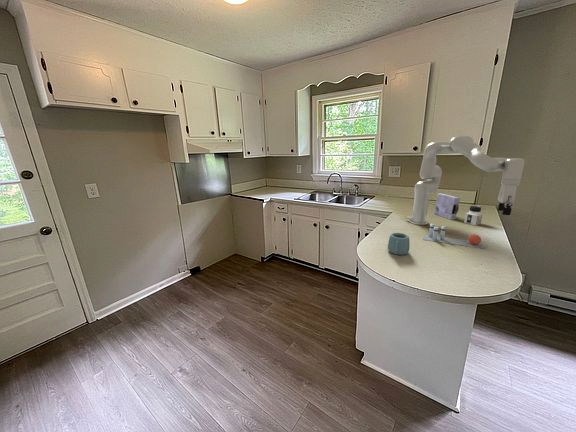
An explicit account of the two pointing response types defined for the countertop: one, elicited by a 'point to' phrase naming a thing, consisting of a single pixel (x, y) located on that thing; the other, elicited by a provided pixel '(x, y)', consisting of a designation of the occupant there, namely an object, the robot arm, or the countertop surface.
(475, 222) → the container
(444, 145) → the robot arm
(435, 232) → the pin
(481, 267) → the countertop surface
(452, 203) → the cake pan box
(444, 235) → the front pin
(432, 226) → the pin
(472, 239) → the ball
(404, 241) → the mug
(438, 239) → the lane
